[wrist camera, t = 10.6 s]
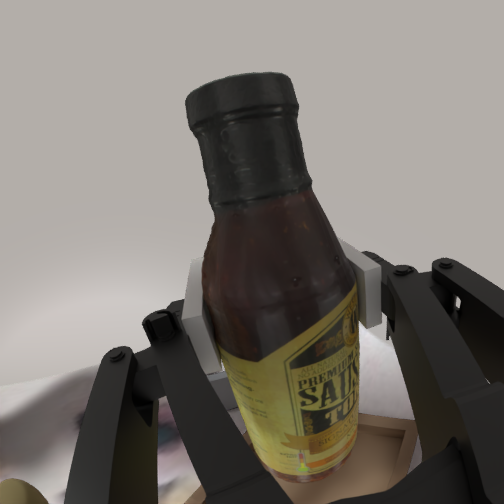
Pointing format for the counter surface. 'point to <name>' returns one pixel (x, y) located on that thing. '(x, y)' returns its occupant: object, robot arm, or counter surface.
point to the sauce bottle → (276, 279)
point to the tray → (355, 464)
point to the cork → (19, 493)
